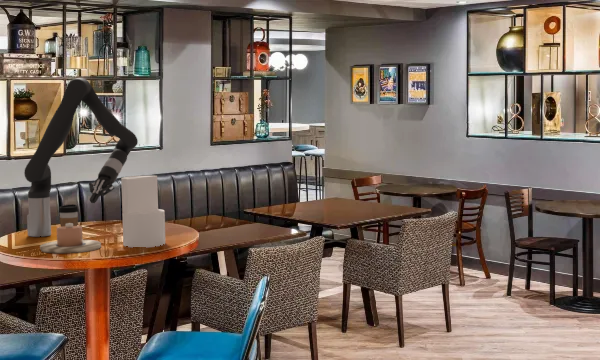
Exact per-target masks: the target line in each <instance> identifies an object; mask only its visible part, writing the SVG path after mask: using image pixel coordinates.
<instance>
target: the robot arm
mask: <svg viewBox="0 0 600 360" xmlns="http://www.w3.org/2000/svg"><path fill="white" fill-rule="evenodd" d="M82 102H83V103H84V104H85V105H86V106H87V107H88V109H90V111H91V112H92V114H93V115H94V117H95V119H96V120H97V122H98V123H99V125H100V126H101V127H102V128H103V129H104V131H106V132H107V134H108V135H109V136H111V137H115V136H116V137H117V138H118V139H119V140H118V141H117V143H116V144H115V146H114V149H113V151H112V152H111V154H110V156H109V157H108V159H107V160H106V161H105V162H104V164H103V165H102V167H101V169H100V170H99V173H97V178H96V179H95V180H94V182H88V187H89V192H90V193H91V196H90V198H89V203H91V204H95V203H97V201H98V199H99V198H100V197H101V196H102V197H104V196H106V195H108V194H109V193H111V192H112V191H113V190H115V187H114V185H113V184H114V183H115V182H116V180H117V178H118V177H119V175H120V173H121V172H122V169H123V167H124V165H125V164H126V162H127V160H128V156H129V154H130V153H131V151H132V150H133V149H134V148H136V147H137V145H138V143H139V142H138V141H139V140H138V138H137V136H136V134H135V133H134V132H133V131H131V130H130V129H129V128H127V127H126V126H125V125H123V124H122V123H121V122H120V121H119V119H118V118H117V117H116V115H114V114H113V113H112V112H111V110H110V109H109V108H108V107H107V106H106V105H105V104H104V103H103V101H102V100H101V98H100V97H99V95H97V93H96V91H95V90H94V87H93V86H92V85H91V83H90V82H89V80H88V79H86V78H84V77H77V78H73V79H71V80H70V81H69V82H68V83H67V86H66V87H65V91H64V94H63V95H62V98H61V101H60V104H59V106H58V107H57V109H56V111H55V112H54V114H53V116H52V117H51V119H50V121H49V123H48V125H47V127H46V129H45V132H44V134H43V135H42V137H41V140H40V141H39V144H38V145H37V147H36V150H35V152H34V153H33V155H32V157H31V158H30V159H29V161H28V163H27V164H26V166H25V168H24V172H23V173H24V177H25V179H26V181H27V182H29V183H31V184H30V188H29V190H28V193H27V198H28V200H27V201H28V202H27V203H28V214H27V215H26V224H27V225H26V226H27V236H28V237H34V238H35V237H36V238H39V237H40V236H41V237H42V238H43V237H48V236H51V235H52V224H51V223H52V222H51V221H52V220H51V199H50V198H51V196H50V195H51V190H52V170H51V167H50V165H49V162H50V160H51V159H52V157H53V156H54V155H55V153H56V152H57V151H58V150H59V149H60V148H61V146H62V145H63V144H64V143H65V141H66V139H67V137H68V135H69V133H70V131H71V128H72V125H73V122H74V118H75V114H76V111H77V109H78V107H79V106H80V104H81V103H82Z"/></svg>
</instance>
